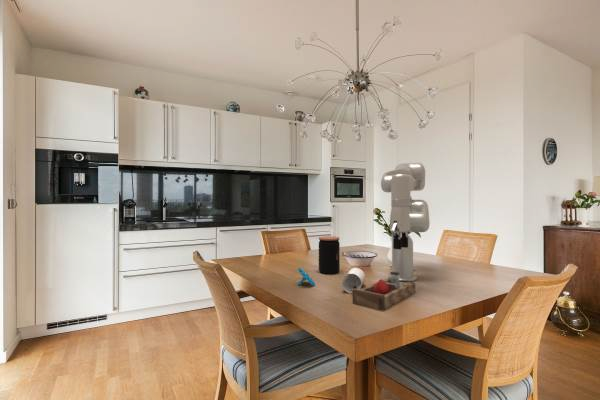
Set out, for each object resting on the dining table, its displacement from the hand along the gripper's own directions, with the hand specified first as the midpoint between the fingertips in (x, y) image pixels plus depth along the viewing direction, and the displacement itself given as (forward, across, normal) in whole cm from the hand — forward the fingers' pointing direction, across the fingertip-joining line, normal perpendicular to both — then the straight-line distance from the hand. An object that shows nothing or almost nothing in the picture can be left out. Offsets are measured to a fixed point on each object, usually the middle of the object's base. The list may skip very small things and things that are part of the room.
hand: (400, 247), depth 135 cm
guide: (+18, +14, 0) cm, 22 cm away
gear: (+18, +19, -35) cm, 44 cm away
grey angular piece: (+17, +6, 0) cm, 18 cm away
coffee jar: (+18, -8, -42) cm, 46 cm away
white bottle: (+18, +10, -17) cm, 26 cm away
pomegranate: (+18, +17, 0) cm, 25 cm away
